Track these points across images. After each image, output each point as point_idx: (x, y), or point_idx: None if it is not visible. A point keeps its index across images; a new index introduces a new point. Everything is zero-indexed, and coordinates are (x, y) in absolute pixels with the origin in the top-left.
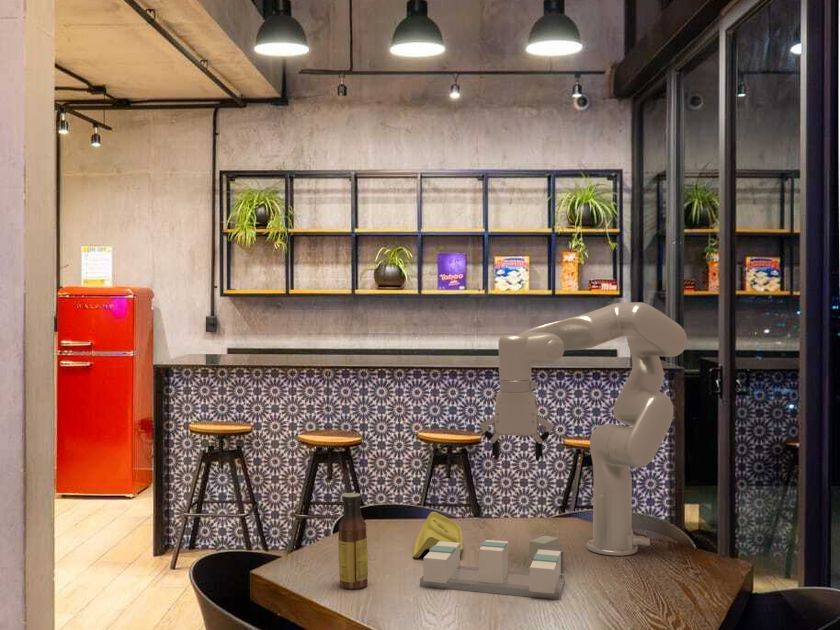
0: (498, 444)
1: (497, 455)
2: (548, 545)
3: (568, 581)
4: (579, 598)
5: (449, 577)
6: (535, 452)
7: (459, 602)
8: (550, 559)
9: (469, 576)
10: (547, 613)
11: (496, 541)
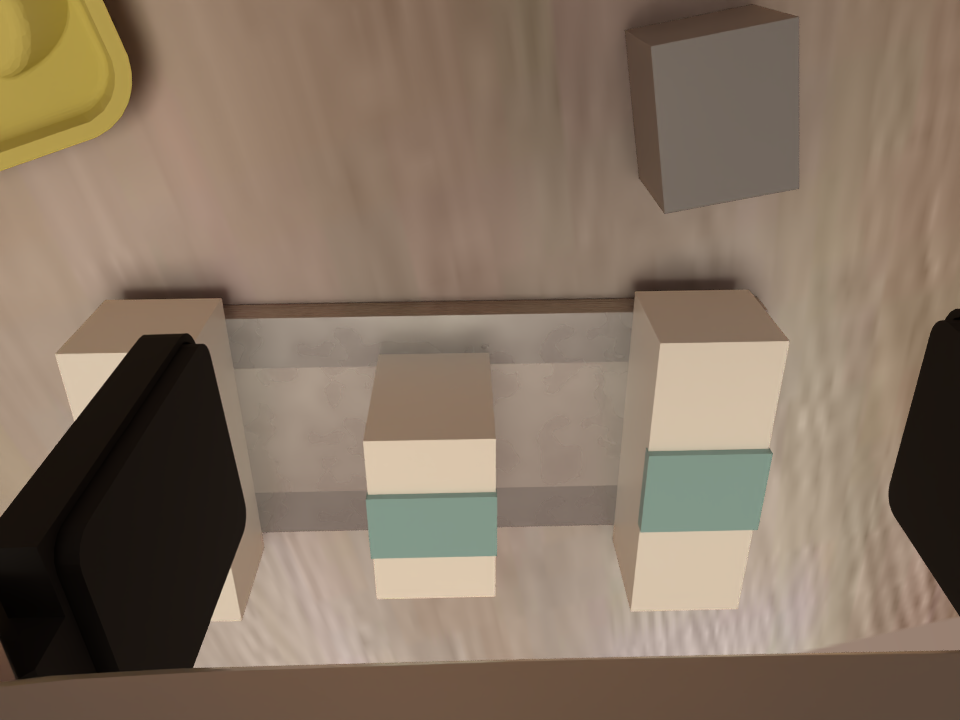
0: (129, 611)
1: (225, 569)
2: (710, 61)
3: (775, 278)
4: (803, 468)
5: (254, 496)
6: (951, 602)
7: (363, 615)
8: (727, 517)
9: (329, 450)
10: (677, 622)
11: (429, 456)
